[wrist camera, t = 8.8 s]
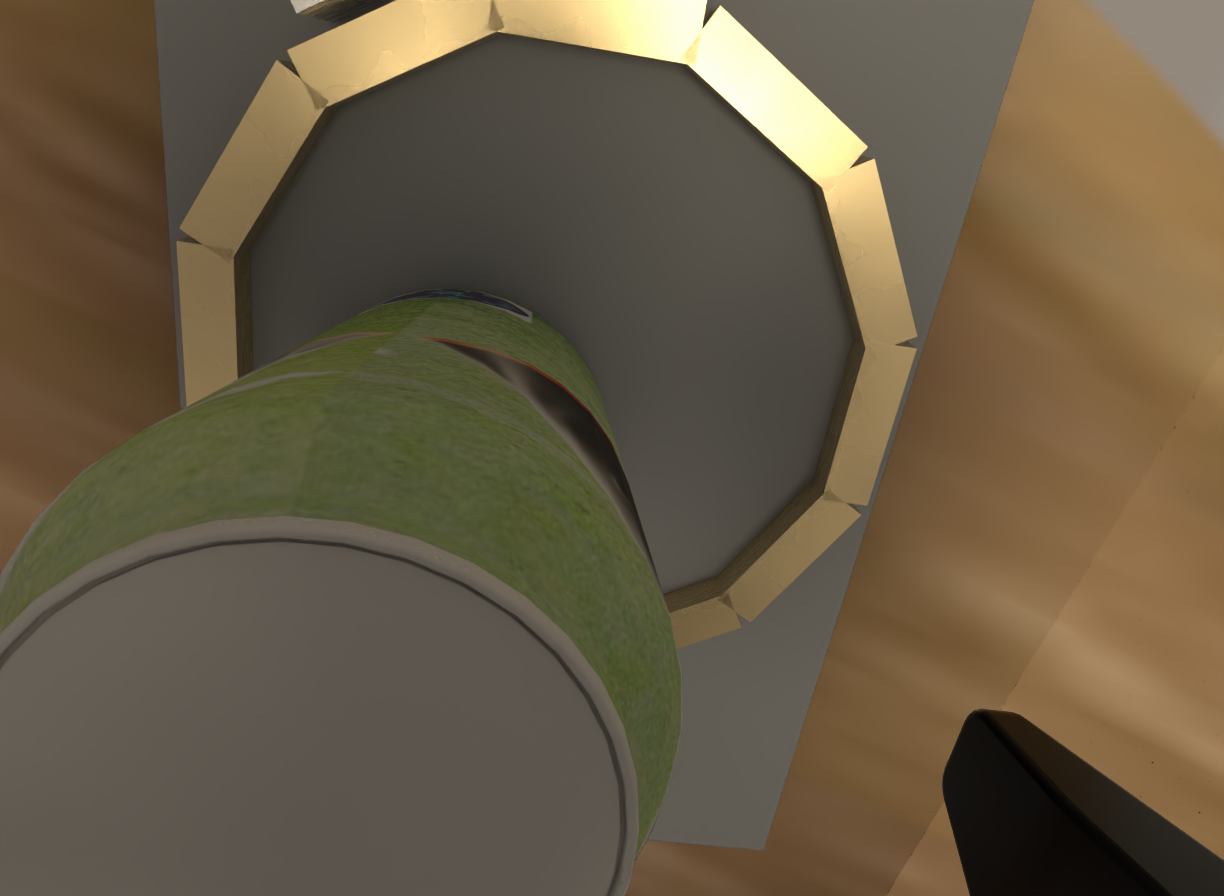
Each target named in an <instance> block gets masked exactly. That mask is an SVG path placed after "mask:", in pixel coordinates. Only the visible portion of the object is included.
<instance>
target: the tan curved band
mask: <svg viewBox="0 0 1224 896" xmlns="http://www.w3.org/2000/svg"><path fill="white" fill-rule="evenodd" d="M383 1H385V0H291V3H292V5H293V7H294V9H295V11H296V13H298V14H302V15H306V16H310V17H313V18H317V19H321V20H325V21H328V22H332V23H337V22H339V21H341V20H343V19H345V18H348V17H350V16H352V15H354V14H356V13H359V12H361V11H363V10H365V9H367V8H369V7H372V6H374V5H376V4H378V3H380V2H383ZM706 3H707V0H396V1H394V2H391V3H389V4H387V5H385V6H383V7H380V8H378V9H376V10H374V11H372V12H369V13H367V14H365V15H363V16H361V17H359V18H356V19H354V20H352V21H350V22H348V23H345V24H343V25H341V26H339V27H337V28H335V29H332V30H330V31H328V32H326V33H324V34H321V35H319V36H317V37H315V38H313V39H311V40H308V41H306V42H304V43H302V44H300V45H297V46H295V47H293V48H291V49H289V50H287V51H288V53H289V55H290V57H291V59H292V61H293V62H292V61H282V60H276V62H275V63H274V65H273V67H272V69H271V70H270V72H269V74H268V75H267V77H266V79H265V81H264V82H263V84H262V86H261V88H260V89H259V91H258V93H257V94H256V96H255V98H254V100H253V101H252V103H251V105H250V107H249V108H248V110H247V112H246V113H245V115H244V117H243V119H242V120H241V122H240V124H239V126H238V127H237V129H236V131H235V133H234V134H233V136H232V138H231V139H230V141H229V143H228V145H227V146H226V148H225V150H224V152H223V153H222V155H221V157H220V158H219V160H218V162H217V164H216V165H215V167H214V169H213V171H212V172H211V174H210V176H209V177H208V179H207V181H206V183H205V184H204V186H203V188H202V190H201V191H200V193H199V195H198V197H197V198H196V200H195V202H194V203H193V205H192V207H191V209H190V210H189V212H188V214H187V216H186V217H185V219H184V221H183V222H182V224H181V226H180V228H179V229H181V230H182V231H184V232H185V233H187V234H188V235H190V236H189V237H186V238H183V239H180V240H178V241H176V243H177V259H178V275H179V292H180V308H181V324H182V340H183V356H184V372H185V389H186V405H187V406H189V405H191V404H193V403H195V402H197V401H198V400H200V399H202V398H204V397H206V396H208V395H210V394H211V393H213V392H215V391H217V390H219V389H221V388H222V387H224V386H226V385H228V384H230V383H232V382H234V381H235V380H237V379H239V378H241V377H243V376H245V375H247V374H248V373H250V372H252V371H253V334H252V295H251V256H250V249H251V247H252V246H253V244H254V242H255V241H256V239H257V237H258V236H259V234H260V233H261V231H262V229H263V228H264V226H265V224H266V223H267V221H268V220H269V218H270V216H271V215H272V213H273V212H274V210H275V208H276V207H277V205H278V203H279V202H280V200H281V199H282V197H283V195H284V194H285V192H286V190H287V189H288V187H289V186H290V184H291V182H292V181H293V179H294V177H295V176H296V174H297V173H298V171H299V169H300V168H301V166H302V165H303V163H304V161H305V160H306V158H307V156H308V155H309V153H310V152H311V150H312V148H313V147H314V145H315V143H316V142H317V140H318V139H319V137H320V135H321V134H322V132H323V131H324V129H325V127H326V126H327V124H328V122H329V121H330V119H331V118H332V116H333V114H334V113H335V111H336V109H337V108H338V107H339V106H341V105H344V104H346V103H348V102H350V101H353V100H355V99H357V98H359V97H362V96H364V95H366V94H368V93H371V92H373V91H375V90H377V89H380V88H382V87H384V86H386V85H389V84H391V83H393V82H395V81H398V80H400V79H402V78H404V77H407V76H409V75H411V74H413V73H416V72H418V71H420V70H422V69H425V68H427V67H429V66H431V65H434V64H436V63H438V62H440V61H443V60H445V59H447V58H449V57H452V56H454V55H456V54H459V53H461V52H463V51H465V50H468V49H470V48H472V47H474V46H477V45H479V44H481V43H483V42H486V41H488V40H490V39H492V38H495V37H497V36H499V35H501V34H502V35H508V36H514V37H520V38H526V39H532V40H537V41H543V42H549V43H555V44H561V45H567V46H572V47H578V48H584V49H590V50H596V51H602V52H607V53H613V54H619V55H625V56H631V57H637V58H642V59H648V60H654V61H660V62H666V63H671V64H677V65H683V66H684V67H685V68H686V69H687V70H688V71H689V72H690V73H691V74H692V75H693V76H695V77H696V78H697V79H698V80H699V81H700V82H701V83H702V84H703V85H704V86H705V87H707V88H708V89H709V90H710V91H711V92H712V93H713V94H714V95H715V96H716V97H717V98H719V99H720V100H721V101H722V102H723V103H724V104H725V105H726V106H727V107H728V108H730V109H731V110H732V111H733V112H734V113H735V114H736V115H737V116H738V117H739V118H740V119H742V120H743V121H744V122H745V123H746V124H747V125H748V126H749V127H750V128H751V129H752V130H754V131H755V132H756V133H757V134H758V135H759V136H760V137H761V138H762V139H763V140H764V141H766V142H767V143H768V144H769V145H770V146H771V147H772V148H773V149H774V150H775V151H776V152H778V153H779V154H780V155H781V156H782V157H783V158H784V159H785V160H786V161H787V162H789V163H790V164H791V165H792V166H793V167H794V168H795V169H796V170H797V171H798V172H799V173H801V174H802V175H803V176H804V177H805V178H806V179H807V180H808V181H809V182H810V183H811V184H812V188H813V192H814V195H815V199H816V202H817V206H818V210H819V213H820V217H821V221H822V224H823V228H824V232H825V235H826V239H827V242H828V246H829V250H830V253H831V257H832V261H833V264H834V268H835V272H836V275H837V279H838V282H839V286H840V290H841V293H842V297H843V301H844V304H845V308H846V312H847V315H848V319H849V323H850V326H851V330H852V333H853V340H852V344H851V347H850V351H849V354H848V358H847V362H846V365H845V369H844V372H843V376H842V379H841V383H840V386H839V390H838V394H837V397H836V401H835V404H834V408H833V411H832V415H831V418H830V422H829V426H828V429H827V433H826V436H825V440H824V443H823V447H822V451H821V454H820V458H819V461H818V465H817V468H816V472H815V475H814V478H813V479H812V480H811V481H810V482H809V483H808V484H807V485H806V486H805V487H804V488H803V489H802V490H801V491H800V492H799V493H798V494H797V495H796V496H795V497H794V498H793V499H792V500H791V501H790V502H789V503H788V504H787V505H786V506H785V507H784V508H783V509H782V510H781V511H780V512H779V513H778V514H777V515H776V516H775V517H774V518H773V519H772V520H771V521H770V522H769V523H768V524H767V525H766V526H765V527H764V528H763V529H762V530H761V532H760V533H759V534H758V535H757V536H756V537H755V538H754V539H753V540H752V541H751V542H750V543H749V544H748V545H747V546H746V547H745V548H744V549H743V550H742V551H741V552H740V553H739V554H738V555H737V556H736V557H735V558H734V559H733V560H732V561H731V562H730V563H729V564H728V565H727V566H726V567H725V568H724V569H723V570H722V571H721V572H720V573H719V574H718V575H717V576H715V577H712V578H709V579H706V580H703V581H700V582H697V583H694V584H691V585H688V586H685V587H682V588H679V589H676V590H673V591H670V592H667V593H664V594H663V595H664V598H665V601H666V604H667V607H668V611H669V614H670V618H671V623H672V627H673V632H674V636H675V641H676V645H677V649H678V648H681V647H684V646H687V645H690V644H694V643H697V642H700V641H703V640H706V639H709V638H712V637H715V636H718V635H721V634H724V633H727V632H730V631H733V630H736V629H739V628H741V624H740V620H739V617H738V614H739V615H741V616H742V617H744V618H745V619H747V620H748V621H749V622H751V621H752V620H753V619H755V618H756V617H757V616H758V615H759V614H760V613H761V612H762V611H763V610H764V609H765V608H766V607H767V606H768V605H769V604H770V603H771V602H772V601H773V600H774V599H775V598H776V597H777V596H778V595H779V594H780V593H781V592H782V591H783V590H784V589H786V588H787V587H788V586H789V585H790V584H791V583H792V582H793V581H794V580H795V579H796V578H797V577H798V576H799V575H800V574H801V573H802V572H803V571H804V570H805V569H806V568H807V567H808V566H809V565H810V564H811V563H812V562H813V561H814V560H815V559H817V558H818V557H819V556H820V555H821V554H822V553H823V552H824V551H825V550H826V549H827V548H828V547H829V546H830V545H831V544H832V543H833V542H834V541H835V540H836V539H837V538H838V537H839V536H840V535H841V534H842V533H843V532H844V531H845V530H846V529H848V528H849V527H850V526H851V525H852V524H853V523H854V522H855V521H856V520H857V519H858V518H859V517H860V516H861V513H860V512H859V510H858V509H857V507H856V506H855V504H858V505H866V506H867V505H868V502H869V499H870V496H871V493H872V489H873V486H874V483H875V480H876V477H877V473H878V470H879V467H880V464H881V461H882V458H883V454H884V451H885V448H886V445H887V442H888V439H889V435H890V432H891V429H892V426H893V423H894V420H895V416H896V413H897V410H898V407H899V404H900V401H901V397H902V394H903V391H904V388H905V385H906V382H907V378H908V375H909V372H910V369H911V366H912V362H913V359H914V356H915V353H916V350H917V348H916V347H914V346H913V345H912V344H911V343H909V342H908V341H907V340H909V339H912V338H915V337H917V332H916V328H915V324H914V320H913V316H912V312H911V308H910V303H909V299H908V295H907V291H906V287H905V283H904V278H903V274H902V270H901V266H900V262H899V258H898V254H897V249H896V245H895V241H894V237H893V233H892V229H891V225H890V220H889V216H888V212H887V208H886V204H885V200H884V196H883V191H882V187H881V183H880V179H879V175H878V171H877V166H876V162H875V159H874V158H870V157H866V156H861V154H862V153H863V152H864V151H865V150H866V149H867V147H868V146H867V145H866V144H864V143H863V142H862V141H861V140H860V139H859V138H858V137H857V136H856V135H855V134H854V133H853V132H852V131H851V130H850V129H849V128H848V127H847V126H846V125H845V124H844V123H843V122H841V121H840V120H839V119H838V118H837V117H836V116H835V115H834V114H833V113H832V112H831V111H830V110H829V109H828V108H827V107H826V106H825V105H824V104H823V103H822V102H821V101H820V100H819V99H817V98H816V97H815V96H814V95H813V94H812V93H811V92H810V91H809V90H808V89H807V88H806V87H805V86H804V85H803V84H802V83H801V82H800V81H799V80H798V79H797V78H796V77H795V76H793V75H792V74H791V73H790V72H789V71H788V70H787V69H786V68H785V67H784V66H783V65H782V64H781V63H780V62H779V61H778V60H777V59H776V58H775V57H774V56H773V55H772V54H771V53H769V52H768V51H767V50H766V49H765V48H764V47H763V46H762V45H761V44H760V43H759V42H758V41H757V40H756V39H755V38H754V37H753V36H752V35H751V34H750V33H749V32H748V31H746V30H745V29H744V28H743V27H742V26H741V25H740V24H739V23H738V22H737V21H736V20H735V19H734V18H733V17H732V16H731V15H730V14H729V13H728V12H727V11H726V10H725V9H724V8H722V7H721V6H719V7H717V8H716V9H714V10H713V11H712V13H711V14H710V15H709V17H708V18H707V19H706V21H705V22H704V23H703V20H704V14H705V9H706Z"/></svg>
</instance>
